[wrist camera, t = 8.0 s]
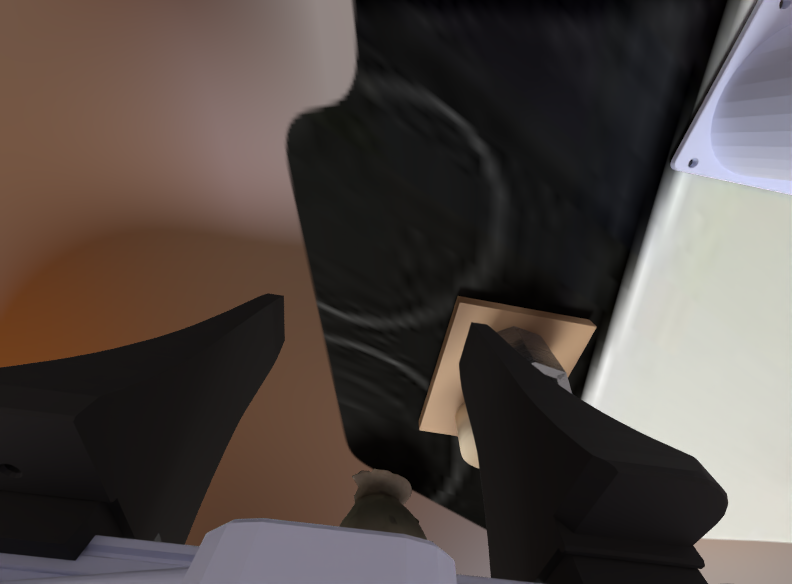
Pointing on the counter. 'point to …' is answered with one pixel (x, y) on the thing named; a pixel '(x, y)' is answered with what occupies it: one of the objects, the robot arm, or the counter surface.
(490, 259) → the counter surface
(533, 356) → the ring
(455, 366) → the board
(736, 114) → the robot arm
